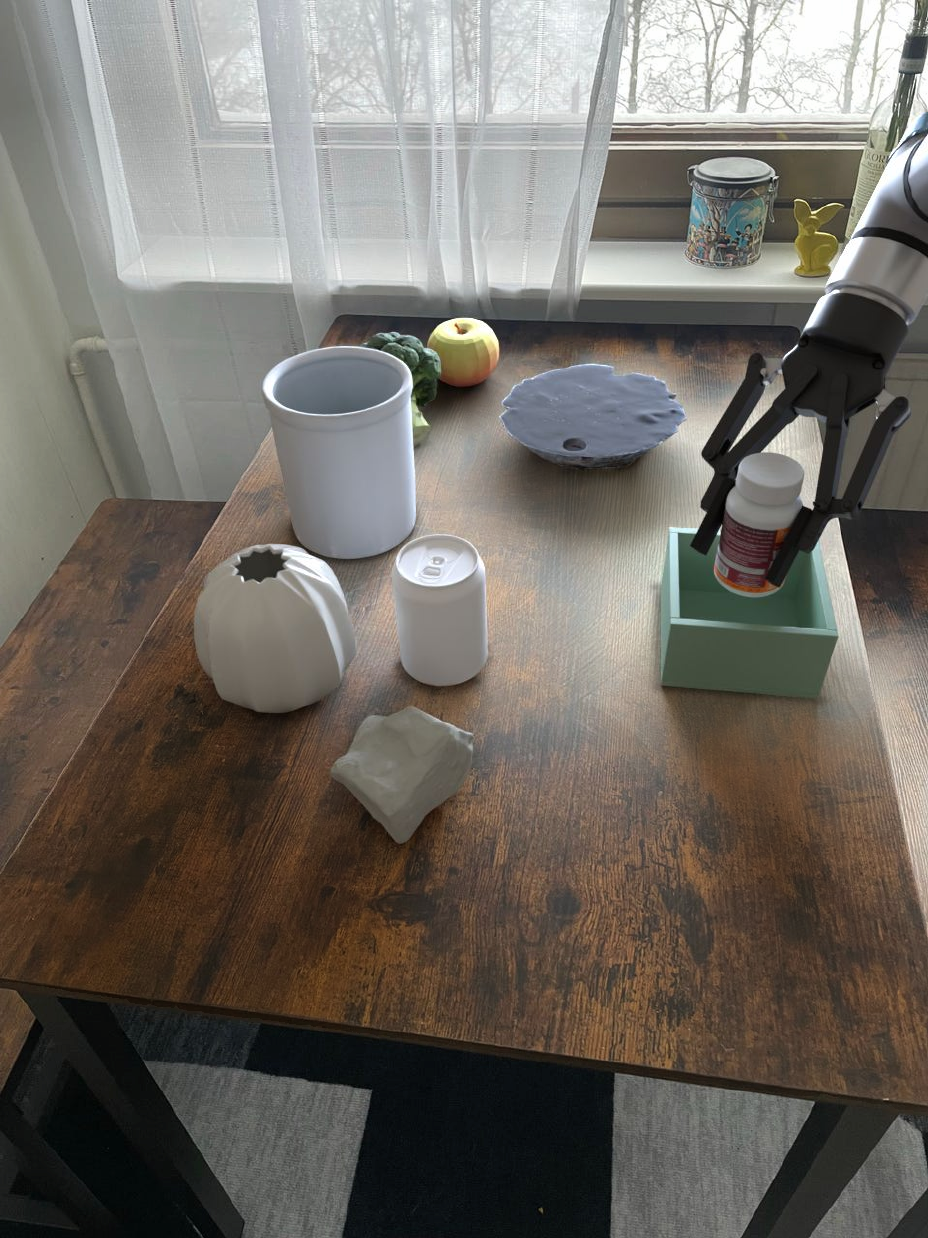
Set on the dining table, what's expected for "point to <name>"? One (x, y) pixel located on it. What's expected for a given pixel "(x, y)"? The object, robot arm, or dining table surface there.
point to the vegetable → (413, 373)
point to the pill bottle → (757, 522)
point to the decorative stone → (405, 767)
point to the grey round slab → (591, 416)
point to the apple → (465, 351)
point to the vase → (273, 628)
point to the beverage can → (440, 609)
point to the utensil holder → (345, 448)
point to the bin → (744, 626)
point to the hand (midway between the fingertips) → (734, 566)
